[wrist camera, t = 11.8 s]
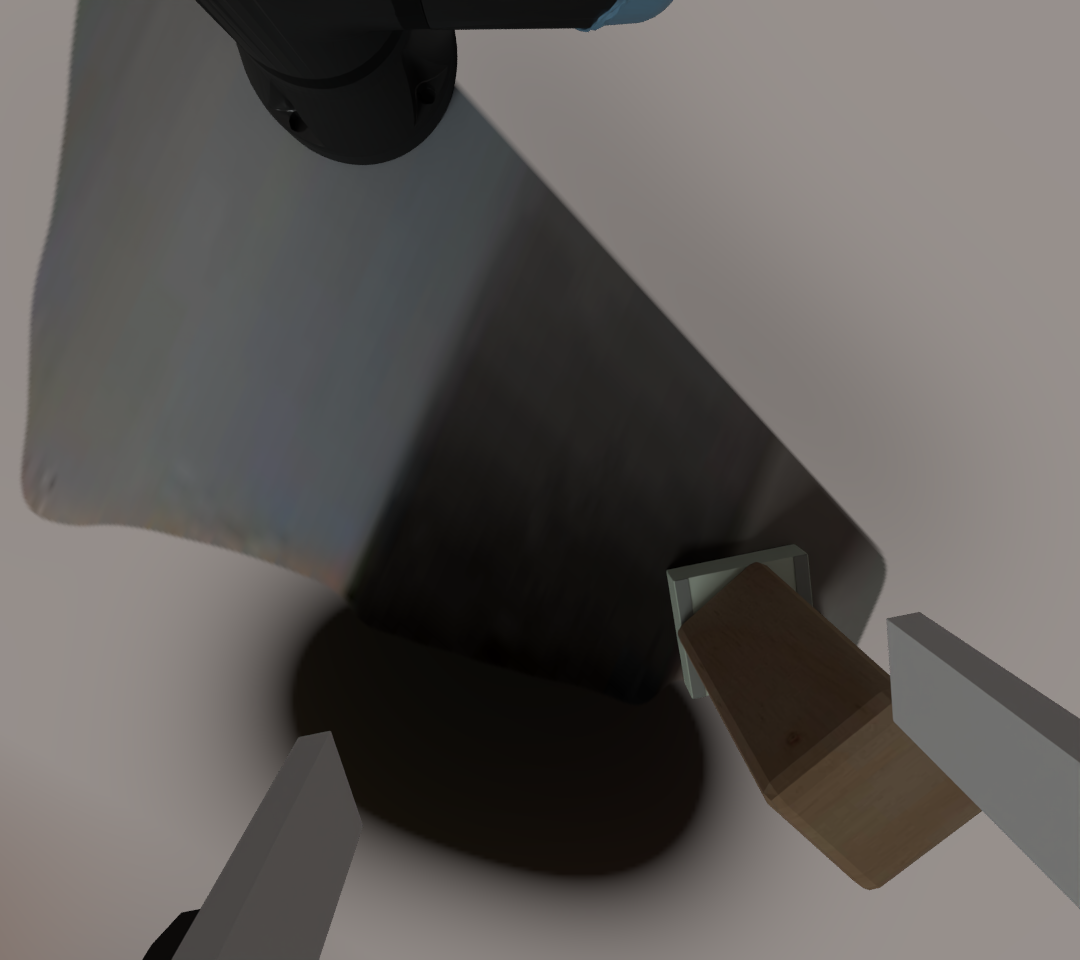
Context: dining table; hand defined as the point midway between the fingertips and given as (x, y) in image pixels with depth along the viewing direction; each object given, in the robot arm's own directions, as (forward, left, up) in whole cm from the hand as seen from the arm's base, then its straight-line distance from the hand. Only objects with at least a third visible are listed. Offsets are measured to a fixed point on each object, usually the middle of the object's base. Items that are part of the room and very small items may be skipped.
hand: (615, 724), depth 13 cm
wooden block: (+19, +14, -34) cm, 42 cm away
